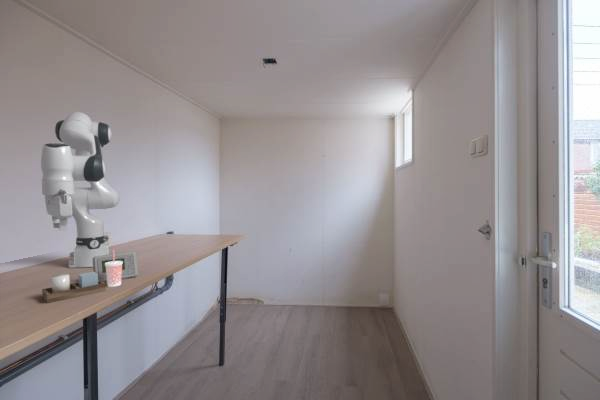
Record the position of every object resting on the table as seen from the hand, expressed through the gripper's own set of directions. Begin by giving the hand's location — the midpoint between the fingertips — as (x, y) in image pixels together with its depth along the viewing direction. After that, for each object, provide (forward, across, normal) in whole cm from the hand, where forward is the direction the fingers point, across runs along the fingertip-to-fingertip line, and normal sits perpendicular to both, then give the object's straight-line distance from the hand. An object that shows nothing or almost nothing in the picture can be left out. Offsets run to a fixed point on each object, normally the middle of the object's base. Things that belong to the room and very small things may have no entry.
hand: (59, 229), depth 108 cm
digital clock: (+24, +8, -20) cm, 33 cm away
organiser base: (+24, -1, -4) cm, 24 cm away
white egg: (+23, 0, 0) cm, 23 cm away
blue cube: (+23, 0, -8) cm, 24 cm away
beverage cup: (+24, 0, -17) cm, 29 cm away
